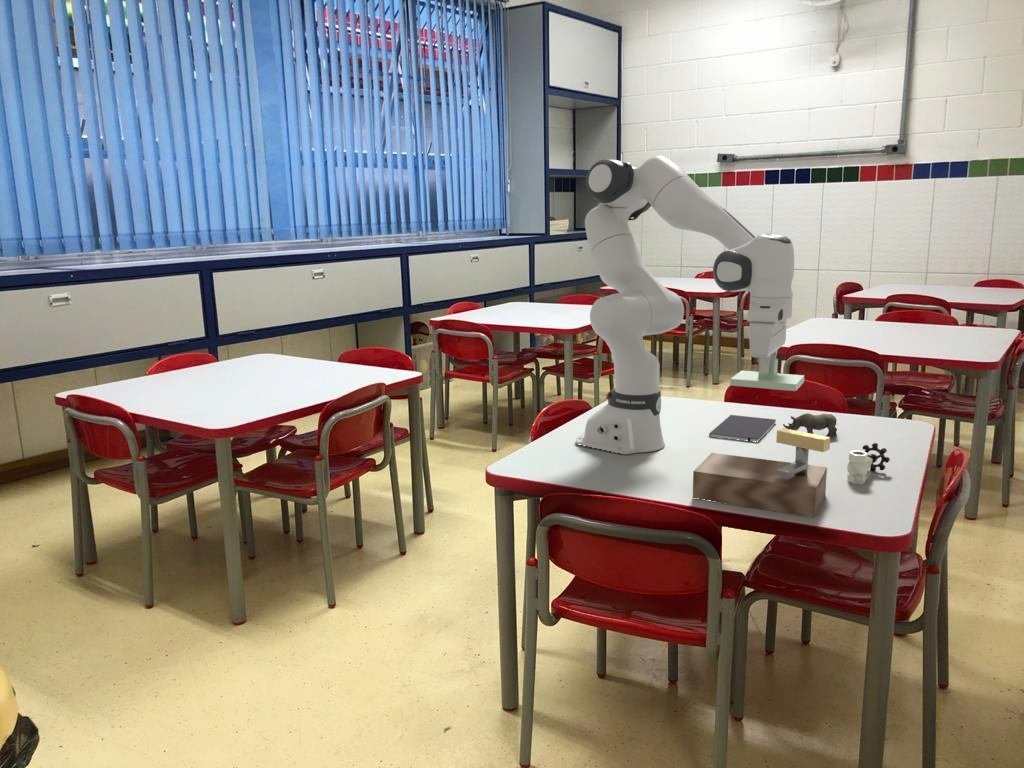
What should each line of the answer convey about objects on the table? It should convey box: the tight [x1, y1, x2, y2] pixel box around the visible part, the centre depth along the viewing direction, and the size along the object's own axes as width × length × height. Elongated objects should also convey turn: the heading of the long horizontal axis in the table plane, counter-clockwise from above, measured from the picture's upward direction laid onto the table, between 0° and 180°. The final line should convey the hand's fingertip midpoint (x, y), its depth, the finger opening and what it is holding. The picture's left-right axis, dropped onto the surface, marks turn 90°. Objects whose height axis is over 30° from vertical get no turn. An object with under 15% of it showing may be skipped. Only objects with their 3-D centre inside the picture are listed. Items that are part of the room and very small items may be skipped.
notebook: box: [708, 414, 777, 443], centre depth 217 cm, size 13×2×21 cm
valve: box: [846, 442, 891, 485], centre depth 178 cm, size 7×7×12 cm
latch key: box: [776, 427, 831, 477], centre depth 160 cm, size 9×10×8 cm
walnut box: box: [692, 452, 828, 518], centre depth 167 cm, size 24×14×6 cm, turn 61°
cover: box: [729, 358, 805, 392], centre depth 180 cm, size 14×10×6 cm
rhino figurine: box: [782, 413, 838, 439], centre depth 210 cm, size 4×14×6 cm, turn 80°
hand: (767, 371), depth 180 cm, fingers closed on cover, 3 cm apart
